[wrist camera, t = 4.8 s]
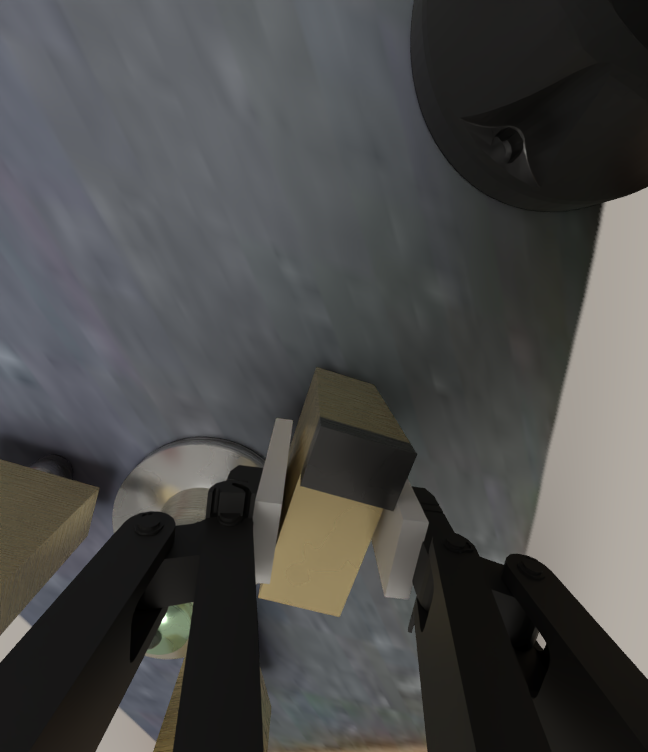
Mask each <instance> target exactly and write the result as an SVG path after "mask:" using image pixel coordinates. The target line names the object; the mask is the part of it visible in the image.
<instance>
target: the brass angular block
mask: <svg viewBox="0 0 648 752" xmlns="http://www.w3.org/2000/svg"><path fill="white" fill-rule="evenodd" d="M185 660H186V657H185V658H184V661H183V664H182V667H181V670H180V673H179V676H178V679H177V682H176V685H175V688H174V691H173V694H172V697H171V700H170V703H169V706H168V709H167V712H166V715H165V718H164V721H163V724H162V727H161V730H160V733H159V736H158V739H157V742H156V745H155V748H154V751H153V752H173V745H174V738H175V731H176V724H177V717H178V710H179V702H180V695H181V688H182V681H183V674H184V667H185ZM260 683H261V704H262V725H263V746H264V752H267V750H268V739H269V728H270V717H271V704H270V701H269V697H268V693H267V690H266V686H265V683H264V679H263V676H262V672H261V668H260Z"/></svg>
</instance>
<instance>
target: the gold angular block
mask: <svg viewBox="0 0 648 752" xmlns="http://www.w3.org/2000/svg"><path fill="white" fill-rule="evenodd" d="M416 456H417V453H416V452H415V450H414V448H413V447H412V445H411V444H410V442H409V440H408V439H407V437H406V436H405V434H404V432H403V431H402V429H401V428H400V426H399V424H398V423H397V421H396V420H395V418H394V416H393V415H392V413H391V412H390V410H389V408H388V407H387V405H386V403H385V402H384V400H383V399H382V397H381V395H380V394H379V392H378V391H377V389H376V387H375V386H374V385H373V384H370V383H366V382H363V381H360V380H357V379H353V378H350V377H347V376H344V375H341V374H337V373H334V372H331V371H328V370H325V369H321V368H318V367H316V369H315V372H314V375H313V378H312V381H311V384H310V387H309V391H308V394H307V397H306V400H305V403H304V406H303V409H302V412H301V415H300V418H299V421H298V424H297V427H296V430H295V433H294V436H293V439H292V442H291V445H290V448H289V454H288V462H287V469H286V477H285V485H284V492H283V500H282V507H281V514H280V520H279V527H278V533H277V540H276V546H275V553H274V559H273V566H272V572H271V579H270V584H264V583H260V589H259V595H258V598H261V599H266V600H270V601H274V602H278V603H282V604H287V605H291V606H295V607H299V608H304V609H308V610H312V611H316V612H320V613H325V614H329V615H333V616H337V617H340V615H341V612H342V610H343V607H344V605H345V602H346V600H347V597H348V595H349V593H350V590H351V588H352V585H353V583H354V580H355V578H356V575H357V573H358V570H359V568H360V565H361V563H362V561H363V558H364V556H365V553H366V551H367V548H368V546H369V543H370V541H371V538H372V536H373V533H374V531H375V528H376V526H377V524H378V521H379V519H380V516H381V514H382V511H383V509H386V510H390V511H394V509H395V506H396V504H397V502H398V499H399V497H400V494H401V492H402V490H403V487H404V485H405V482H406V480H407V477H408V475H409V473H410V470H411V468H412V465H413V463H414V461H415V458H416Z"/></svg>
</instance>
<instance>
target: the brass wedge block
mask: <svg viewBox="0 0 648 752" xmlns="http://www.w3.org/2000/svg"><path fill="white" fill-rule="evenodd" d="M98 492H99V487H95V486H92V485H88V484H85V483H81V482H78V481H74V480H71V479H67V478H64V477H60V476H57V475H53V474H50V473H46V472H43V471H39V470H36V469H32V468H29V467H25V466H22V465H18V464H15V463H11V462H8V461H4V460H1V459H0V635H1V634H2V633H3V632H4V631H5V629H6V628H7V627H8V626H9V625H10V624H11V622H12V621H13V620H14V619H15V618H16V617H17V616H18V615H19V613H20V612H21V611H22V610H23V609H24V608H25V607H26V605H27V604H28V603H29V602H30V601H31V600H32V599H33V597H34V596H35V595H36V594H37V593H38V592H39V591H40V589H41V588H42V587H43V586H44V585H45V584H46V583H47V581H48V580H49V579H50V578H51V577H52V576H53V575H54V573H55V572H56V571H57V570H58V569H59V568H60V567H61V565H62V564H63V563H64V562H65V561H66V560H67V559H68V557H69V556H70V555H71V554H72V553H73V552H74V551H75V549H76V548H77V547H78V546H79V545H80V544H81V543H82V541H83V540H84V539H85V538H86V537H87V536H88V532H89V528H90V524H91V520H92V516H93V512H94V508H95V504H96V500H97V496H98Z"/></svg>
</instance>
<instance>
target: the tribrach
mask: <svg viewBox="0 0 648 752" xmlns="http://www.w3.org/2000/svg"><path fill="white" fill-rule="evenodd" d="M264 464H265V460H264V459H263V458H262V457H260V456H259V455H258V454H256V453H255V452H253V451H252V450H250V449H248V448H246V447H244V446H242V445H239V444H237V443H234V442H231V441H227V440H223V439H219V438H211V437H195V438H186V439H182V440H178V441H174V442H172V443H169V444H166V445H164V446H162V447H160V448H158V449H157V450H155V451H153V452H152V453H151V454H149V455H148V456H147V457H146V458H145V459H144V460H143V461H142V462H141V463H140V464H139V465H138V466H137V467H136V468H135V469H134V470H133V471H132V472H131V473H130V474H129V475H128V477H127V478H126V479H125V481H124V482H123V484H122V485H121V487H120V489H119V491H118V493H117V496H116V499H115V502H114V507H113V518H112V523H113V531H114V533H115V532H116V531H117V530H118V529H119V528H120V526H121V525H122V524H123V523H124V522H125V521H126V520H128V519H129V518H130V517H132V516H134V515H137V514H139V513H143V512H149V511H158V512H163V513H166V514H169V515H170V516H171V517H173V518H174V521H175V523H176V525H187V524H193V523H197V522H200V521H202V520H204V519H205V517H206V507H207V497H208V491H209V489H210V487H211V486H213V485H214V484H216V483H219V482H222V481H226V480H227V478H228V475H229V473H230V471H231V470H232V469H234V468H235V467H236V466H238V465H244V466H252V467H259V468H264ZM29 468H32V469H36V470H39V471H43V472H46V473H50V474H53V475H57V476H60V477H64V478H67V479H72V476H73V469H72V466H71V464H70V463H69V462H68V461H67V460H66V459H65V458H63V457H61V456H59V455H46V456H44V457H42V458H41V459H39V460H38V461H36V462H35V463H33V464H32V465H30V466H29ZM257 584H258V583H256V585H257ZM193 603H194V602H191V603H186V604H180V605H174V606H169V607H168V611H167V613H166V615H165V617H164V618H163V620H162V622H161V624H160V626H159V628H158V630H157V632H156V634H155V636H154V638H153V640H152V642H151V644H150V646H149V648H148V650H147V652H146V654H145V656H148V657H153V658H158V659H176V658H183V657H186V653H187V645H188V638H189V631H190V624H191V617H192V610H193Z"/></svg>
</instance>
